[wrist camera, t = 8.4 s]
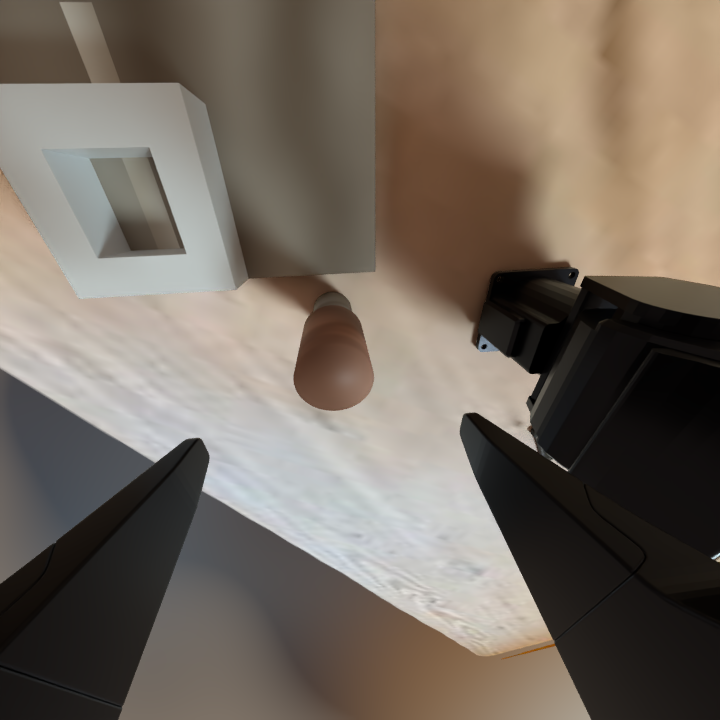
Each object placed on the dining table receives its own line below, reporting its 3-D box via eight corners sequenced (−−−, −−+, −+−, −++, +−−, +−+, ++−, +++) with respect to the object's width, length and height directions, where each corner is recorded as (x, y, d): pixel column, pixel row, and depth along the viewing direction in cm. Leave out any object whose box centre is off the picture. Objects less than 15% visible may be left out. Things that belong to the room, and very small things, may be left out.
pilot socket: (205, 104, 12) (178, 82, 10) (248, 278, 16) (236, 289, 14) (19, 106, 12) (-50, 84, 10) (113, 286, 16) (79, 298, 14)
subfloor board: (365, -616, 7) (374, -809, 5) (372, 266, 18) (375, 271, 17) (-474, -763, 6) (-714, -1051, 4) (96, 281, 17) (77, 288, 16)
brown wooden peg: (355, 284, 19) (373, 341, 11) (357, 331, 21) (374, 407, 13) (304, 288, 18) (286, 348, 11) (311, 334, 20) (300, 413, 13)
